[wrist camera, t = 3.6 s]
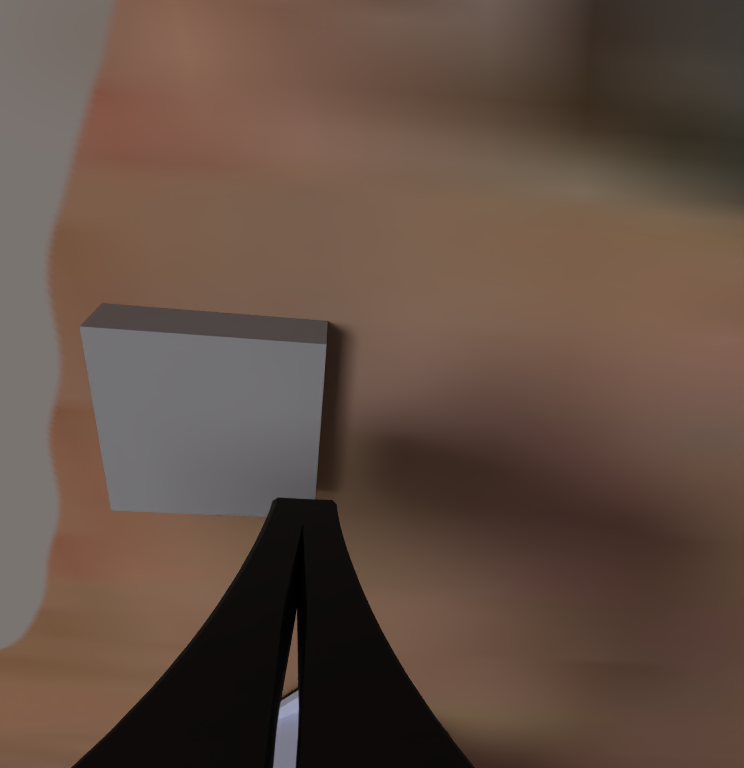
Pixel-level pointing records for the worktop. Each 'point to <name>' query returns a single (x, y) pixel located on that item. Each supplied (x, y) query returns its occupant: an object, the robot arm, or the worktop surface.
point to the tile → (205, 407)
